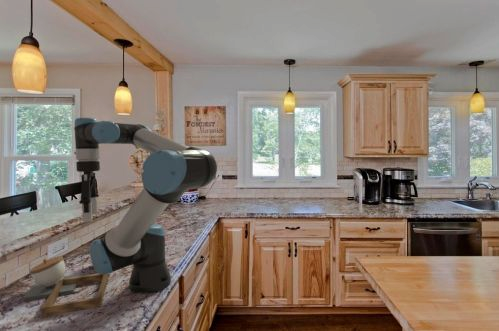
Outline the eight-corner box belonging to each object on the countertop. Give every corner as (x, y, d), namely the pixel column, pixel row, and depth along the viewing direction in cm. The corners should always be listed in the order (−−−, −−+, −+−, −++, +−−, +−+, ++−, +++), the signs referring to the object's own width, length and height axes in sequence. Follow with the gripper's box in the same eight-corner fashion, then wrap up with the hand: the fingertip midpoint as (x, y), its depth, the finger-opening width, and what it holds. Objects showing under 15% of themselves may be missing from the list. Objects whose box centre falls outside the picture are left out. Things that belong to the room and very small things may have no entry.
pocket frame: (108, 279, 117) (107, 272, 117) (100, 306, 96) (100, 297, 96) (60, 286, 111) (60, 279, 111) (41, 317, 90) (41, 308, 90)
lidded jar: (75, 270, 116) (66, 249, 114) (59, 284, 105) (48, 261, 104) (49, 279, 116) (40, 258, 114) (31, 294, 105) (20, 271, 104)
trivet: (81, 276, 120) (81, 274, 120) (73, 293, 106) (73, 289, 106) (37, 283, 115) (37, 280, 115) (23, 301, 101) (23, 297, 101)
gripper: (82, 160, 118) (85, 212, 119) (68, 161, 94) (71, 226, 95) (103, 159, 120) (105, 210, 121) (94, 160, 97) (97, 224, 98)
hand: (90, 217), depth 108 cm, fingers open, 13 cm apart
